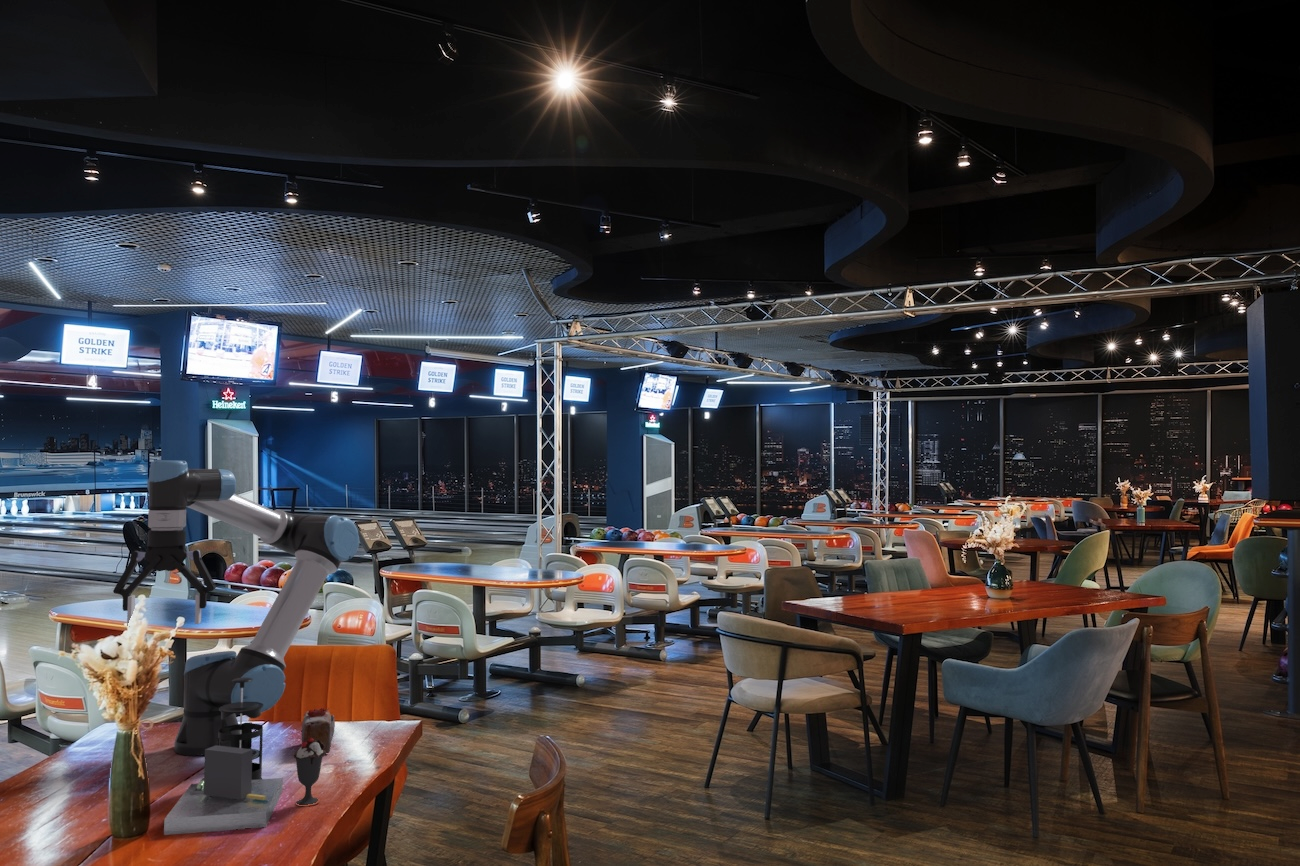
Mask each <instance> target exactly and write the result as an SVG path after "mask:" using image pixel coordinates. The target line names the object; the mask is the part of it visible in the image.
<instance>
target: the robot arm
mask: <svg viewBox="0 0 1300 866" xmlns="http://www.w3.org/2000/svg"><path fill="white" fill-rule="evenodd" d="M148 474H149V476H148V479H147V483H146V486H147V491H148V518H147V519H148V520H147V521H148V522H147V525H148V526H147V527H148V528H149V529H150V530H148V531H147V549H146V551H140V550H134V551H132V552H131V553H130V560H129V563H128V564H127V566H126V568H125V569H124V571H123V573H122V575H121V576H120V578H119V580H118V581H117V583H116V585H115V587H114V588H113V590H112V592H113V593H114V594H117V595H120V596H122V610H123V612H126V614H127V616H126V617H127V619H126V622H127V623H126V625H127V626H128V623H129V620H130V618H131V616H132V614H133V611H134V609H135V610H136V595H135V594H132V593H133V592H134V591H136V589H137V588H138V587H139V586H141V585H140V584H142V583H143V582H144V581H145V579H147V577H148V576H149V575H151V573H152V572H153V571H154V570H155V571H156V572H162V571H167V572H173V571H175V570H177V572H179V573H181V575H182V576H184V578H185V579H186V580H187V581H188V582H189V584H191V586H192V587H193V589H195V590H196V591H197V592H198V593H196V594H195V601H194V602H195V603H194V625H199V624H201V623H202V609H205V608H206V607H207V602H208V601H207V598H208V593H210V592H213V591H214V590H216V587H217V585H216V584H215V582H214V580H213V578H212V576H211V573H210V572H209V569H208V568H207V567H206V565H205V563H204V561H203V559H202V551H201V550H200V549H195V550H191V551H187V548H186V538H187V537H186V535H187V533H186V532H187V531H186V530H185V529H184V528H185V527H187V508H189V509H191V510H193V511H197V512H198V513H201V514H203V515H206V516H208V517H210V518H213V519H216V520H218V521H219V522H220V521H221V522H223V523H226V524H228V525H230V526H233V527H235V528H238V529H240V530H242V531H245V532H247V533H250V534H253V535H255V536H258V537H259V539H260V541H262V543H264V544H267V545H269V546H271V547H274V548H276V549H277V550H281V551H283V552H285V553H288V554H290V555H293V556H295V560H296V563H295V564H294V566H293V568H292V569H291V570H290V571H291V572H290V573H289V575H288V577H287V579H286V580H285V582H284V584H283V586H281V589H280V591H279V593H278V594H277V597H276V598H275V600H274V602H273V603H272V605H271V607H270V609H269V611H268V613H267V614H266V616H265V618H264V620H263V621H262V622H261V625H260V627H259V629H258V630H257V632H256V635H255V636H254V638H253V639H252V642H251V643H250V644H248V645H245V646H242V647H241V648H240V650H239V651H238V652H236V651H234V650H227V651H226V650H225V651H217V652H208V653H203V654H198V655H193V656H191V657H189V658H187V660H186V661H185V663H184V664H185V665H184V672H183V676H184V678H183V679H184V683H183V684H184V687H183V713H182V714H183V716H182V720H181V724H180V725H179V729H178V732H177V734H176V736H175V740H174V747H173V749H174V753H176V754H179V755H183V756H205V749H208V748H210V747H213V746H215V745H217V746H218V731H219V730H220V729H221V728H223V727H226V726H230V725H235V724H239V721H238V718H237V715H236V713H234V714H231V715H229V716H228V717H227V718H226V719H223V720H222V719H221V712H220V711H219V708H220V707H221V706H224V705H227V704H231V703H237V702H241V688H240V683H234V682H232V680H234V679H237V678H252V679H253V680H252V681H249V682H245V684H244V688H243V702H259V703H262V704H263V707H262V708H261V713H264V712H266V711H268V710H271V708H273V707H274V706H275V705H276V704H277V703H278V701H280V700H281V698H282V696H283V694H284V691H285V689H286V682H285V681H286V675H285V673H284V671H285V669H286V667H287V665H286V662H285V659H284V658H285V656H286V654H287V652H288V651H289V648H290V646H291V645H292V643H293V641H294V640H295V637H296V635H297V634H298V631H299V630H300V628H301V626H302V624H303V622H304V620H305V618H306V616H307V615H308V613H309V611H310V609H311V607H312V606H313V603H314V601H315V600H316V598H317V596H318V594H319V592H320V590H321V588H322V587H323V584H324V583H325V582H326V581H325V580H326V579H327V577H328V576H330V575H331V574H334V573H336V572H337V571H338V569H339V567H340V565H341V563H342V562H345V561H349V560H351V559H352V558H354V557H355V555H356V554H357V552H358V549H359V548H360V547H359V546H360V536H359V535H360V534H359V529H358V528H357V526H356V524H355V523H354V522H353V521H352V519H350V518H348V517H346V516H339V515H337V514H336V515H335V514H334V515H315V514H298V513H290V512H287V511H285V510H282V509H274V510H273V509H271V508H269V507H266V506H264V505H261V504H260V503H257V502H255V501H252V500H250V499H247V498H245V497H244V496H242V495H239V494H236V493H235V492H236V490H237V479H236V477H235V474H234V473H233V472H232V471H230V470H229V469H223V468H221V469H220V468H189V467H188V462H187V461H186V460H171V459H170V460H165V459H164V460H162V459H160V460H157V459H156V460H154V461H152V462H151V463H150V469H149V473H148ZM187 557H188V558H189V559H190V560H191V561H193V562H194V566H195V567H196V569H197V571H198V573H199V575H200V577H201V579H202V581H203V583H204V584H205V585H204V584H203V583H202V582H201V581H200V580H199V579H198V577H197V576H196V575H195V574H194V573H193V572H192V571H191V570H190V569H189V567H188V566H187V564H186V563H185V560H186V559H187ZM144 558H145V560H146V561H147V562H148V563H149V564H147V566H146V567H145V568H144V569H142V571H141V572H140V573H139V575H138V576H136V578H135V579H134V580H133V581H132V582H131V583H130V584H129V585H128V587H126V588H125V586H127V583H128V581H129V579H130V578H131V576H132V574H133V573H134V571H135V570H136V568H137V566H138V564H139V562H141V561H143V559H144ZM224 734H240V730H235V731H230V732H226V733H224ZM221 746H226V747H231V741H226V740H221Z"/></svg>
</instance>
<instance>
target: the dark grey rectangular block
mask: <svg viewBox="0 0 1300 866" xmlns="http://www.w3.org/2000/svg"><path fill="white" fill-rule="evenodd" d="M253 749H254V748H251V749H244V748H235V747H226V746H217V745H215V746H213V747H210V748H208V749H205V755H204V767H203V768H204V769H203V771H204V773H203V778H204V795H209V796H217V797H225V798H232V799H240V800H241V799H243V798H245V797H247V798H250V799H258V800H265V799H266V796H264V795H256V794H251V785H252V762H253V760H252V750H253Z"/></svg>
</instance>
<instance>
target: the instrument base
mask: <svg viewBox="0 0 1300 866" xmlns="http://www.w3.org/2000/svg"><path fill="white" fill-rule="evenodd" d="M283 781H284V779H283V777H278V778H262V779H259V780H252V785H251V794H256V795H264V796H266V799H265V800H258V799H250V798H247V797H245V798H243V799H241V800H240V799H232V798H225V797H217V796H209V795H204V777H202V778H201V779H200V781H199V782H198V783H191V784H190V785H189V787H187V789H186V790H185V791H184V793H183V794H182V795H181V797H180V798H179V800H178V801H177V802H176V803H175V805H174V806H173V807H172V809H171V810H170V811H169V812H168V813H167V815H166V816H165V818H164V821H163V824H164V825H163V826H164V827H163V836H169V835H170V836H171V835H182V834H183V835H185V834H194V833H195V834H197V833H210V832H223V831H233V830H235V831H236V829H238V830H246V829H245V828H251V829H260V828H261V829H262V827H264V828H267V825H268V824H267V823H269V822H268V821H270V820H271V818H272V817H271V816H272V815H273V813H274V811H273V810H275V809H274V808H276V807H275V806H277V805H278V802H279V800H280V798H279V797H281V796H282V794H283V783H284V782H283ZM281 793H282V794H281ZM280 795H281V796H280ZM276 804H277V805H276ZM272 812H273V813H272Z"/></svg>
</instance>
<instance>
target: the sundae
mask: <svg viewBox="0 0 1300 866" xmlns="http://www.w3.org/2000/svg"><path fill="white" fill-rule="evenodd" d="M304 735H307V732H306V733H304ZM307 737H308V736H307ZM308 738H309V737H308ZM323 748H324V744H323V743H322V742H321V741H320V740H317V741H316V740H314V739H313V738H309V739H308V740H307V741H306V742H305V738H304V742H303V743H302V742H301V747H299V749H298V750H297V751H296V752H294V753H292V754H291V756H292V757H293V758H294V759H295V762H296V763H295V764H296V772H297V773H296V774H297V778H298V781H299V783H300V784H301V785H302V786H304V787H305V793H304V796H303V798H301V800H300V799H299V801H298V800H296V802H295V803H297V804H299V805H308V804H313V803H316V802H317V801H318V799H319V798H318V797H313V794H312V786H313V785H315V783H316V782H318V780H319V777H320V774H321V768H322V767H321V766H322V761H323V758H324V756H325V757H326V755H325V754H326V751H325V750H322V749H323ZM317 798H318V799H317Z"/></svg>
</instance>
